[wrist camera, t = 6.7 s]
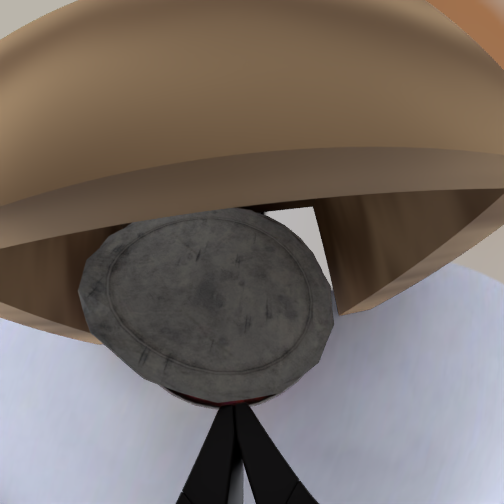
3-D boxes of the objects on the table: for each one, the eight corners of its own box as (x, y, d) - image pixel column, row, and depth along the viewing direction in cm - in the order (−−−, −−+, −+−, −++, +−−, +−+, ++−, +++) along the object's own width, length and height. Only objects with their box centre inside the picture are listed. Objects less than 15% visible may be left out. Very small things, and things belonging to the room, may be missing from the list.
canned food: (165, 301, 21) (98, 185, 15) (300, 265, 21) (278, 129, 14) (170, 456, 13) (27, 380, 6) (359, 415, 13) (403, 293, 6)
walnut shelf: (370, 309, 16) (570, 166, 3) (97, 344, 15) (-121, 261, 2) (335, 184, 19) (408, -12, 6) (100, 215, 18) (-16, 50, 5)
